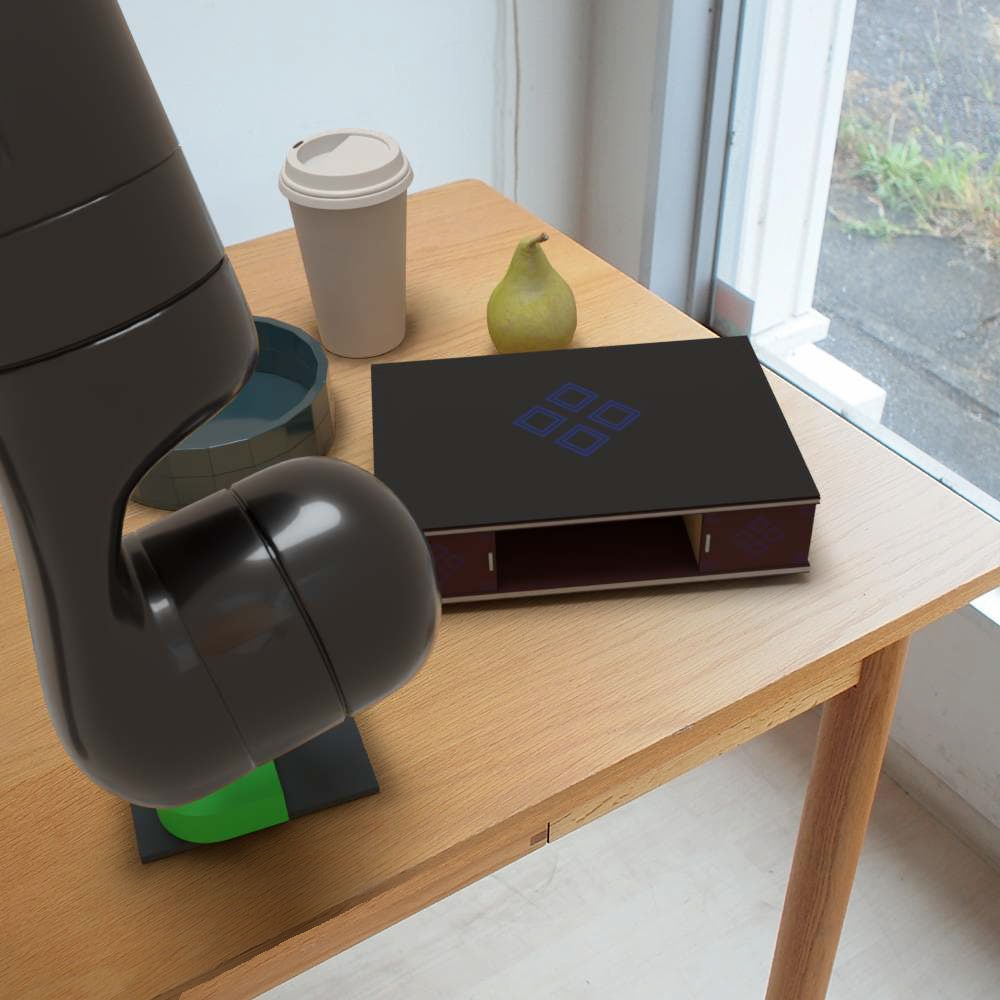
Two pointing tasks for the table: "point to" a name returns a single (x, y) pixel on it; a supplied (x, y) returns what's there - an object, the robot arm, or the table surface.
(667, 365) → the miniature tv stand
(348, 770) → the mat
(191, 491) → the pot
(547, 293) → the fruit
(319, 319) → the coffee cup
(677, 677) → the table surface
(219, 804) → the mechanical part
